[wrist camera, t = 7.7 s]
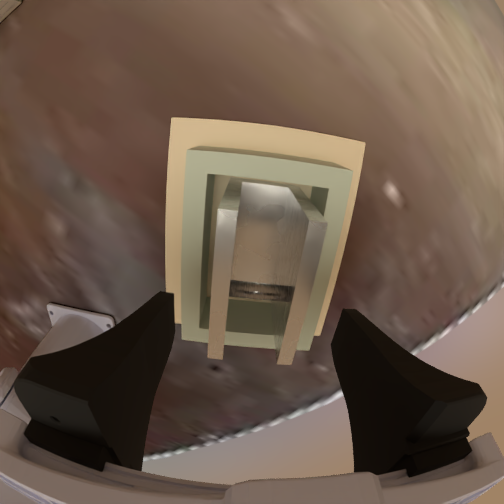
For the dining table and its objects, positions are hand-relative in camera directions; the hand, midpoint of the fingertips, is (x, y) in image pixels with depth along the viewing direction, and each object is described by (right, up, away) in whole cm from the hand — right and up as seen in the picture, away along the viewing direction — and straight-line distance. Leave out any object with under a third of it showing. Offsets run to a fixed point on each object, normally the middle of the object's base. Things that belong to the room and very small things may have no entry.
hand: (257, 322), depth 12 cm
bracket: (0, +4, +9) cm, 9 cm away
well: (0, +4, +10) cm, 10 cm away
